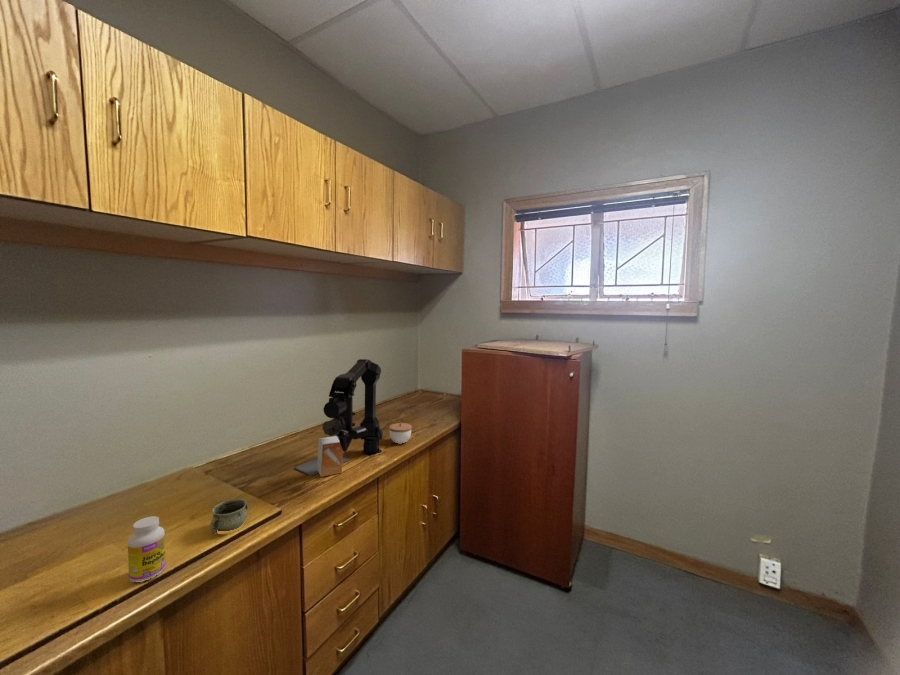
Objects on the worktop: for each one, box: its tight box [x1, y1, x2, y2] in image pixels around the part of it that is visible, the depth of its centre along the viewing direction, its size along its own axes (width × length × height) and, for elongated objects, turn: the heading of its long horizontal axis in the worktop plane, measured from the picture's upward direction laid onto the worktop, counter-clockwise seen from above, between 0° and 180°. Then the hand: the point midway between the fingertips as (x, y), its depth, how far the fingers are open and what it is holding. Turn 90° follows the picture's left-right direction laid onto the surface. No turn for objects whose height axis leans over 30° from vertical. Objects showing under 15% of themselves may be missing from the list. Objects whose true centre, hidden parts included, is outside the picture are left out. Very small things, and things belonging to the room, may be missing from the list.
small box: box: [317, 435, 344, 477], centre depth 138 cm, size 8×6×13 cm
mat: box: [294, 456, 350, 477], centre depth 146 cm, size 18×11×1 cm, turn 146°
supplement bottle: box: [127, 516, 166, 583], centre depth 84 cm, size 7×7×13 cm
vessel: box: [209, 498, 249, 535], centre depth 103 cm, size 12×9×6 cm
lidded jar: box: [389, 422, 413, 445], centre depth 172 cm, size 11×11×9 cm
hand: (344, 451), depth 133 cm, fingers closed
